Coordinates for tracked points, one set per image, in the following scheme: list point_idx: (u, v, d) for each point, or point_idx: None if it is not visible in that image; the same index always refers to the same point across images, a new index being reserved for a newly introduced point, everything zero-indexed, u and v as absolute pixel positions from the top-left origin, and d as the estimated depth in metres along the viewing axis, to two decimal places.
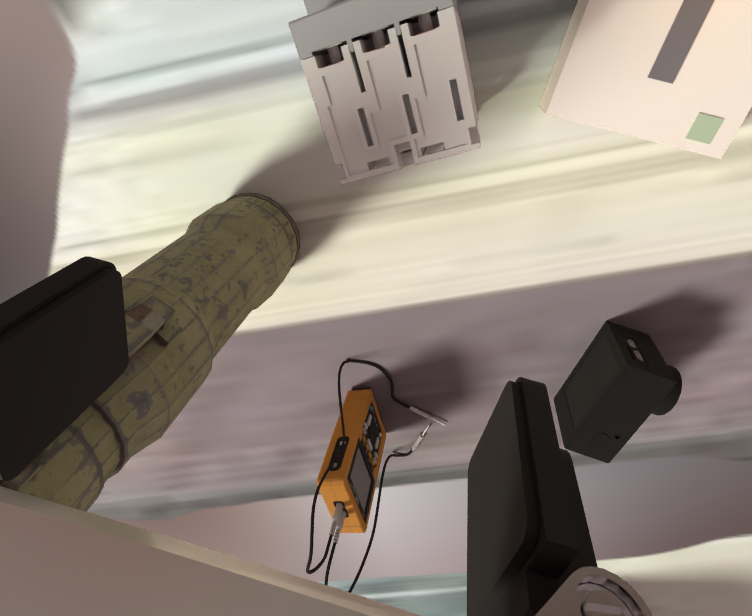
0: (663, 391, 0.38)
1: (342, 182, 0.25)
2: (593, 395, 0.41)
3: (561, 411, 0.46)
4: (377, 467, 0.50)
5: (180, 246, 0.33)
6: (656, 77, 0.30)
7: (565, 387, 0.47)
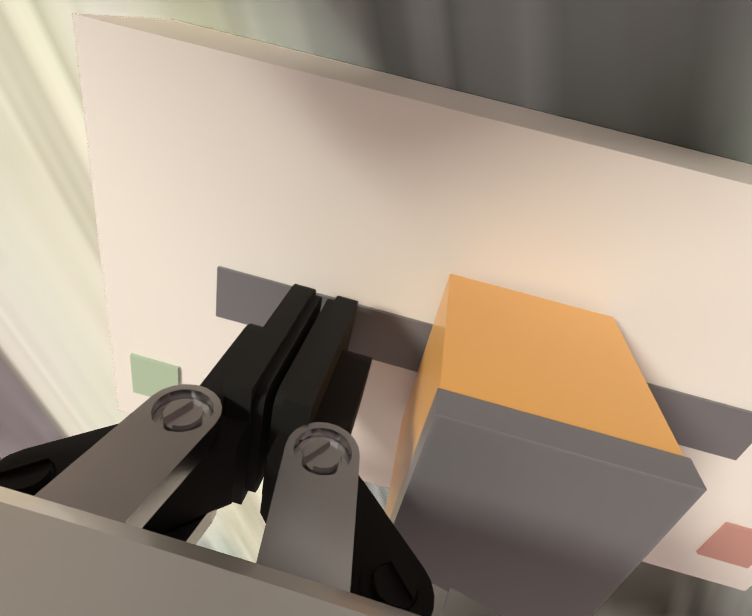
0: None
1: None
2: None
3: None
4: None
5: None
6: (222, 283, 0.13)
7: None
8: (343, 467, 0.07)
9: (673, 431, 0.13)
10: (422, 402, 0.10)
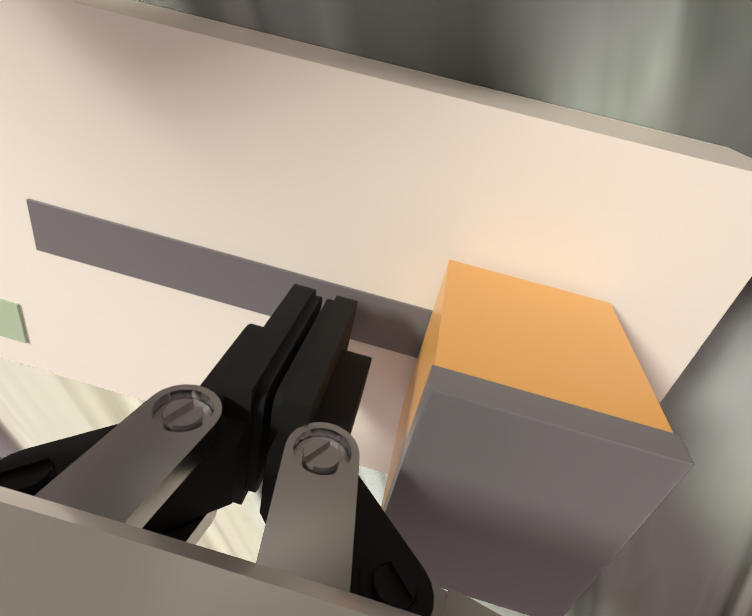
0: None
1: None
2: None
3: None
4: None
5: None
6: (36, 216, 0.14)
7: None
8: (343, 467, 0.07)
9: None
10: (419, 383, 0.10)
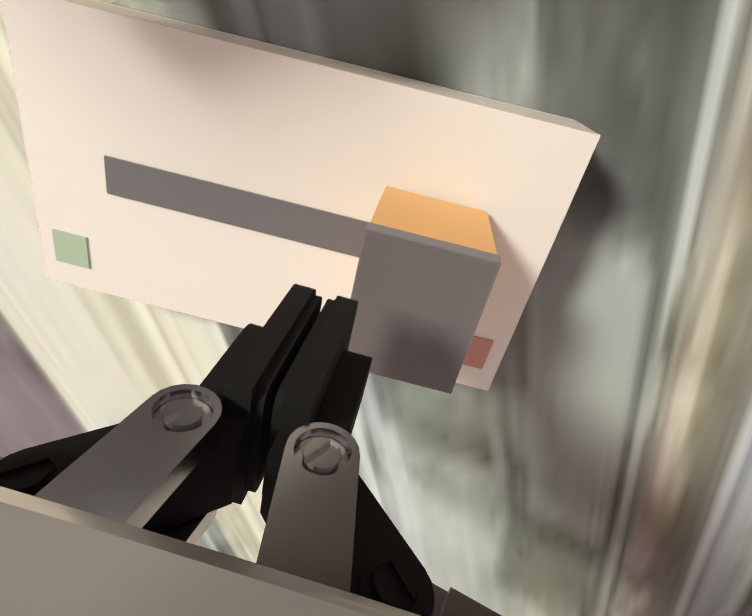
0: None
1: None
2: None
3: None
4: None
5: None
6: (108, 168, 0.19)
7: None
8: (343, 467, 0.07)
9: None
10: None
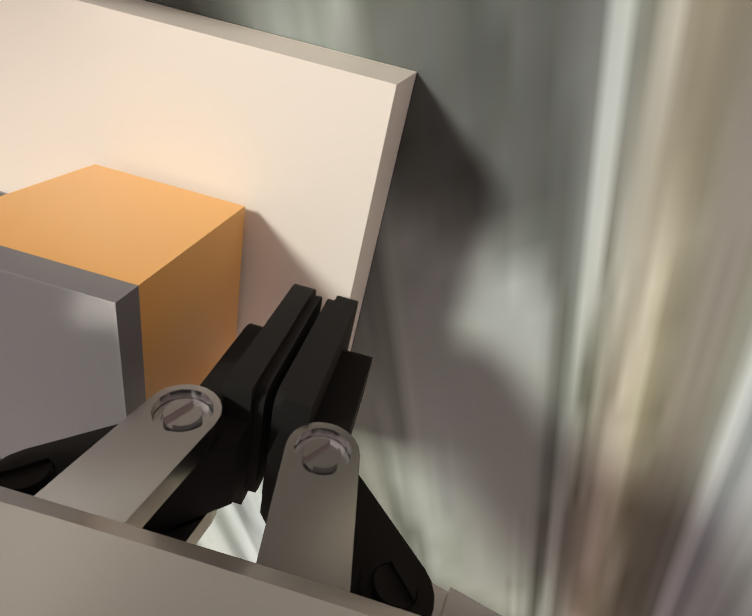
0: None
1: None
2: None
3: None
4: None
5: None
6: None
7: None
8: (343, 467, 0.07)
9: None
10: None
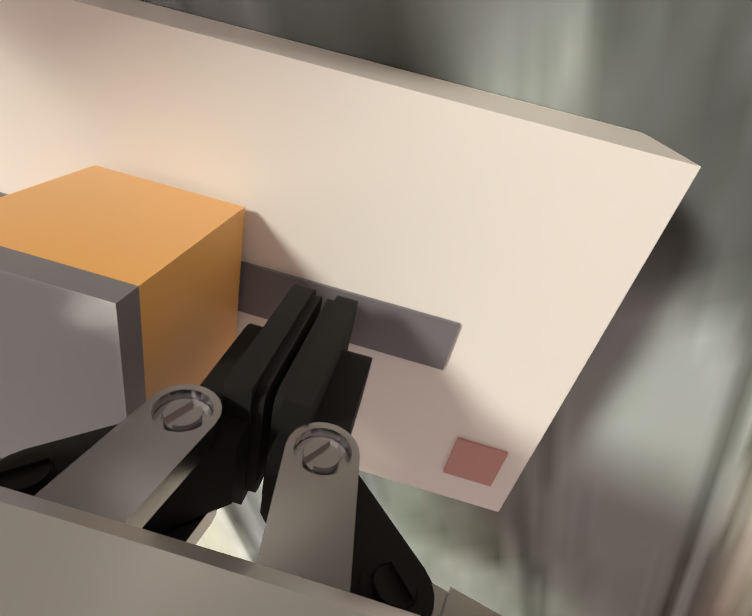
0: None
1: None
2: None
3: None
4: None
5: None
6: None
7: None
8: (343, 467, 0.07)
9: (383, 341, 0.13)
10: None
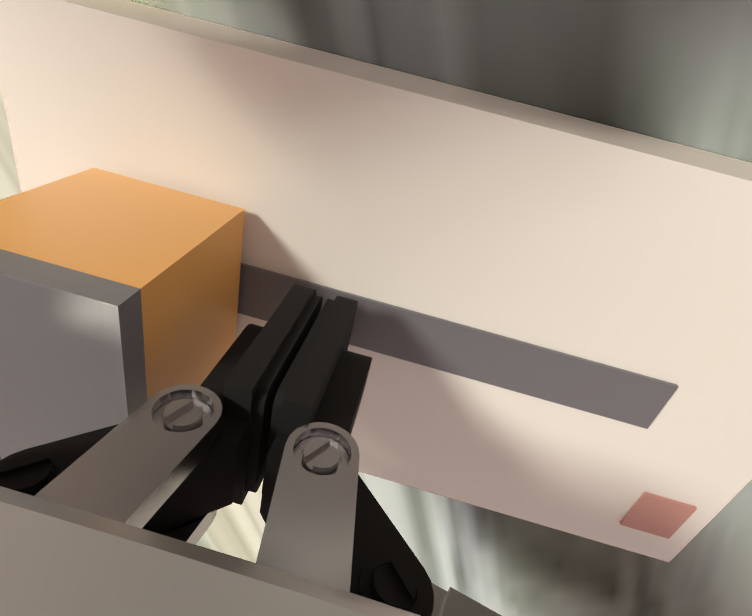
0: None
1: None
2: None
3: None
4: None
5: None
6: None
7: None
8: (343, 467, 0.07)
9: (586, 400, 0.13)
10: None
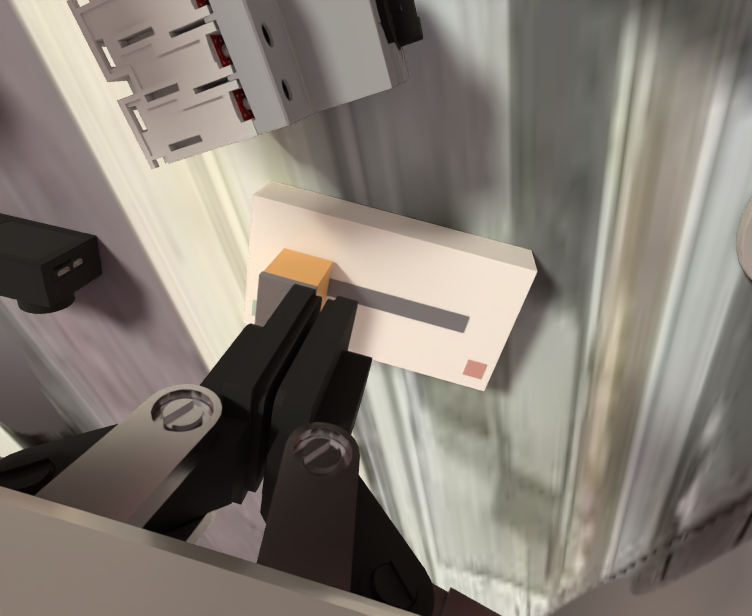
0: (36, 300, 0.41)
1: (69, 3, 0.21)
2: (2, 247, 0.40)
3: None
4: None
5: None
6: None
7: (13, 220, 0.45)
8: (343, 467, 0.07)
9: (442, 323, 0.38)
10: None
